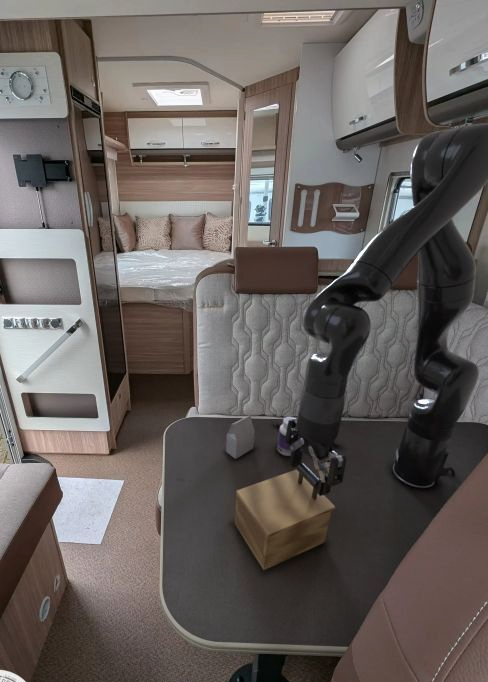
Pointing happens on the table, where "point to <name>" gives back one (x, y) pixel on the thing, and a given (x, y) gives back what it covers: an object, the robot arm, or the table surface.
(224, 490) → the table surface
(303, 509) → the lid
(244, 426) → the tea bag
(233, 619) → the table surface
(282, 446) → the pill bottle
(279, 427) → the pen
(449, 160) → the robot arm
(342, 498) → the table surface
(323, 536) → the chest
